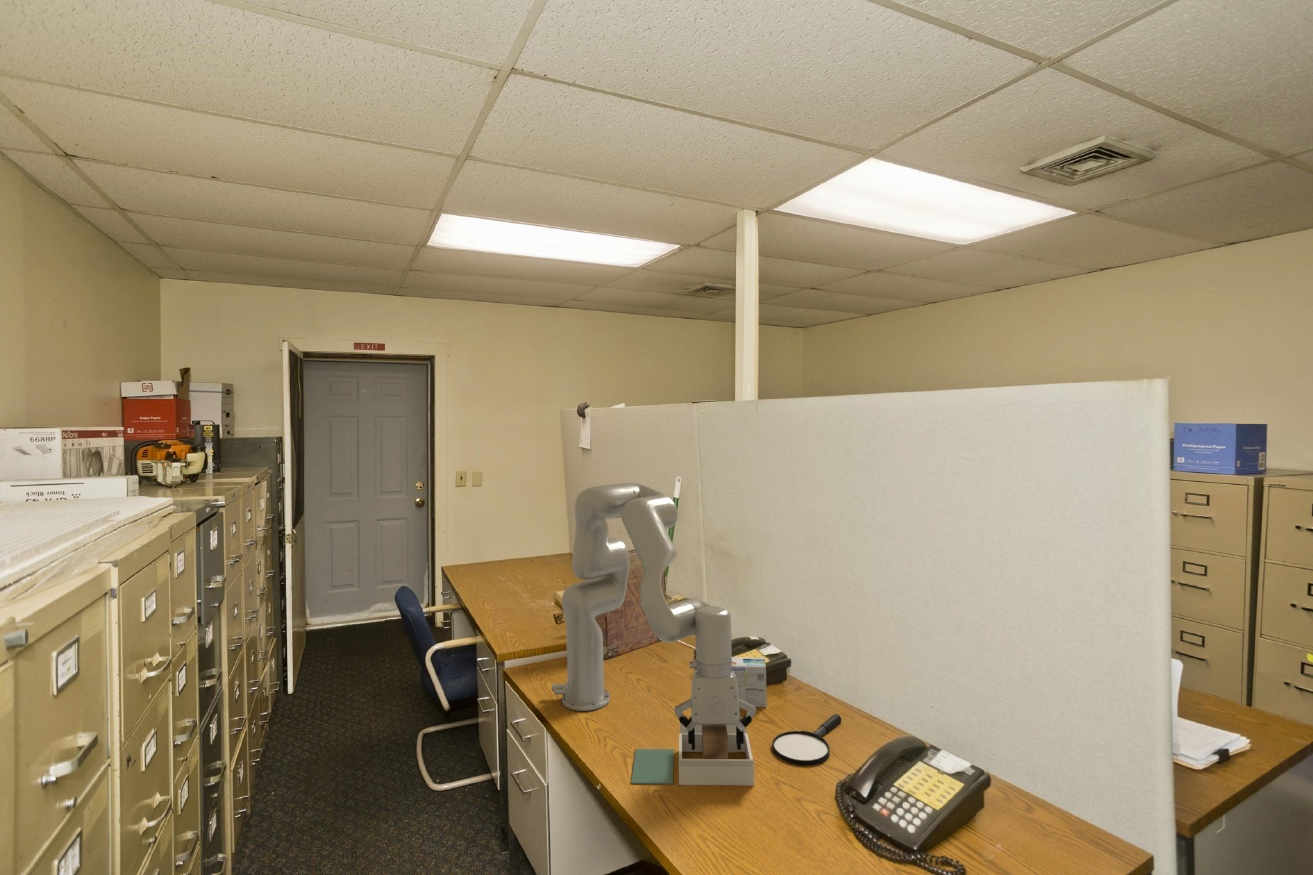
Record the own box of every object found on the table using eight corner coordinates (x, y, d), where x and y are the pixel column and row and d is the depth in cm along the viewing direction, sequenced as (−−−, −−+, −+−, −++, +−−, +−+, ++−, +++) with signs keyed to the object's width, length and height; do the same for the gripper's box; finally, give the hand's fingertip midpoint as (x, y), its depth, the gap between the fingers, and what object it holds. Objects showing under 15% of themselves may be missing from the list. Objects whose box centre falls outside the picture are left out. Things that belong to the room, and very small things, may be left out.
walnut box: (703, 779, 130) (703, 735, 130) (702, 755, 139) (701, 715, 139) (728, 779, 130) (728, 735, 130) (725, 755, 139) (725, 715, 139)
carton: (679, 789, 127) (678, 759, 127) (679, 746, 143) (679, 720, 143) (755, 789, 126) (754, 759, 126) (746, 747, 142) (746, 720, 142)
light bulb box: (765, 696, 168) (765, 656, 168) (767, 708, 161) (767, 666, 161) (725, 695, 169) (724, 655, 169) (725, 706, 162) (724, 665, 162)
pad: (631, 783, 129) (631, 782, 129) (635, 750, 142) (635, 748, 142) (672, 784, 128) (672, 782, 128) (673, 750, 141) (673, 749, 141)
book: (648, 632, 219) (647, 546, 217) (666, 639, 212) (665, 550, 211) (589, 652, 201) (587, 558, 200) (607, 660, 195) (605, 563, 193)
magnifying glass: (862, 730, 150) (862, 721, 150) (812, 776, 132) (812, 766, 132) (814, 714, 158) (814, 706, 158) (761, 755, 140) (761, 745, 140)
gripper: (673, 674, 130) (674, 756, 131) (757, 673, 130) (758, 755, 130) (673, 660, 138) (675, 737, 138) (753, 659, 137) (754, 737, 138)
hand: (715, 746), depth 134 cm, fingers open, 9 cm apart
